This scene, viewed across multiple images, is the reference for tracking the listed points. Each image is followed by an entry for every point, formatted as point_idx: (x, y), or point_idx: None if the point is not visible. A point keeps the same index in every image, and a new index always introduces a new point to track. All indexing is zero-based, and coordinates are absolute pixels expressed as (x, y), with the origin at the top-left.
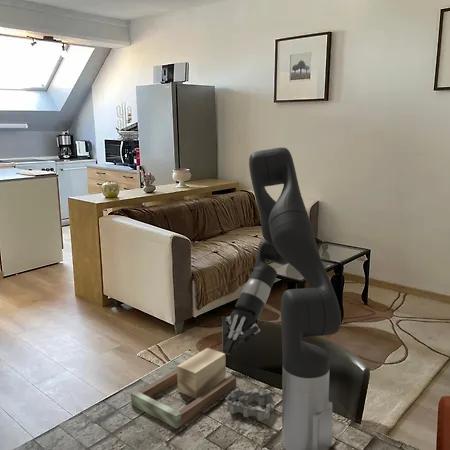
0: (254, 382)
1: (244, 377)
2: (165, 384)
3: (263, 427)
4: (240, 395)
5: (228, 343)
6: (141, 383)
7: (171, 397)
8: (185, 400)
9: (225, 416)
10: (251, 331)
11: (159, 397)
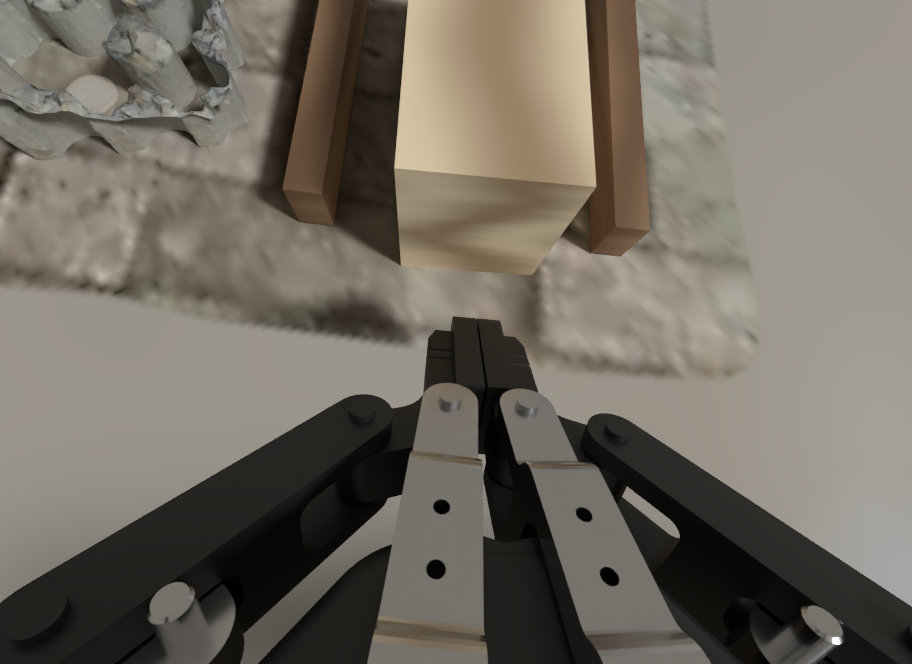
0: (219, 308)
1: (303, 325)
2: (595, 36)
3: None
4: (214, 128)
5: (494, 357)
6: (700, 49)
7: None
8: None
9: None
10: (166, 519)
11: None
